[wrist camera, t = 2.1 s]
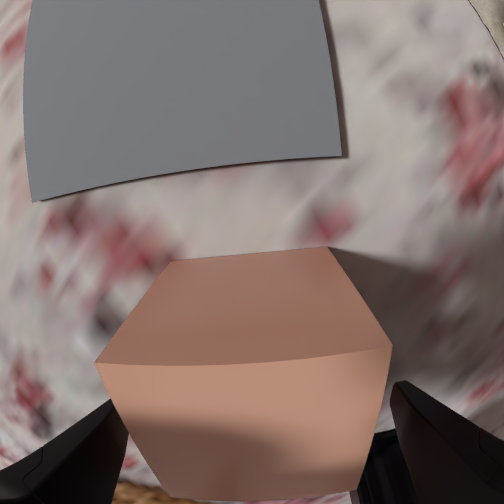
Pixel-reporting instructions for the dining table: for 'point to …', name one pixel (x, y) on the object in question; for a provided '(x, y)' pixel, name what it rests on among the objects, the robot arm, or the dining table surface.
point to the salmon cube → (250, 376)
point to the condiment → (492, 18)
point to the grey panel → (172, 88)
